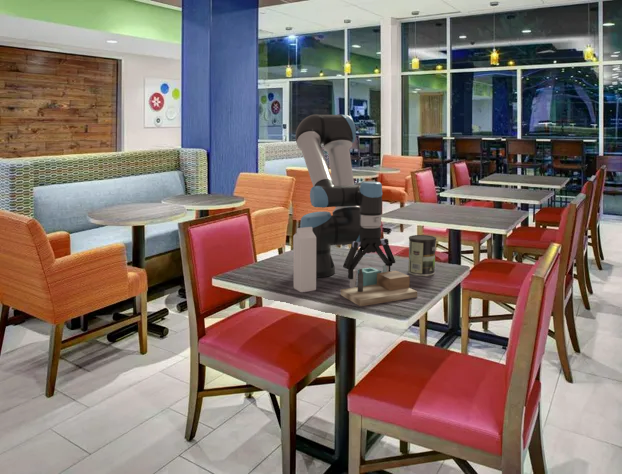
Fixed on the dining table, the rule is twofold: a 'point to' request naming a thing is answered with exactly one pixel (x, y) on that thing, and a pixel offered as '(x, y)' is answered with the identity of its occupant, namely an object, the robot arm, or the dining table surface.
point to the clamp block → (393, 280)
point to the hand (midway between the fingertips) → (369, 285)
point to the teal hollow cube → (369, 276)
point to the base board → (375, 293)
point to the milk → (304, 259)
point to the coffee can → (422, 255)
